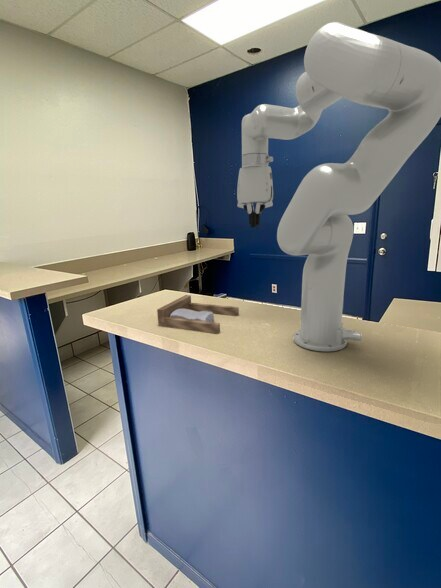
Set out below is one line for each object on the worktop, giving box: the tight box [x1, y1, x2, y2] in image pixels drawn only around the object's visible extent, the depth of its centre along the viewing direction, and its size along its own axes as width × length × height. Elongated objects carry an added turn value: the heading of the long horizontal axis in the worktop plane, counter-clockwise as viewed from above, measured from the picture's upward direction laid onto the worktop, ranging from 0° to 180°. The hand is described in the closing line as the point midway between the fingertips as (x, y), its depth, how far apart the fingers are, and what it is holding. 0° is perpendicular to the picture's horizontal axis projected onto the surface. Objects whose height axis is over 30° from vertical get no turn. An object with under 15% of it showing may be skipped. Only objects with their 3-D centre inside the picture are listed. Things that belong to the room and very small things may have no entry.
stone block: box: [170, 308, 215, 322], centre depth 93 cm, size 12×5×10 cm
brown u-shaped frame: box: [156, 294, 240, 334], centre depth 94 cm, size 19×17×5 cm
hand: (254, 227), depth 94 cm, fingers closed
